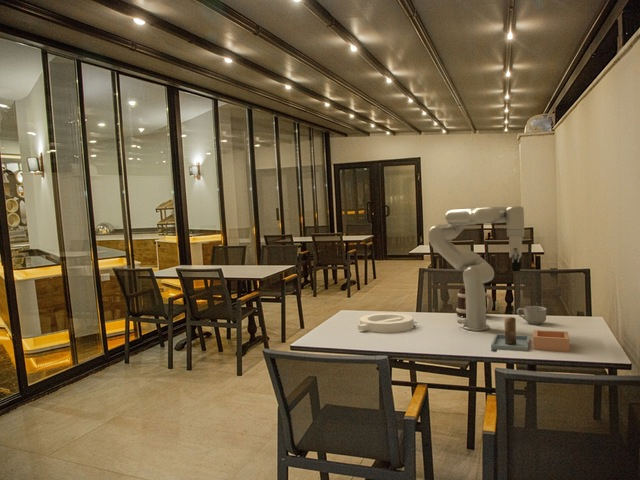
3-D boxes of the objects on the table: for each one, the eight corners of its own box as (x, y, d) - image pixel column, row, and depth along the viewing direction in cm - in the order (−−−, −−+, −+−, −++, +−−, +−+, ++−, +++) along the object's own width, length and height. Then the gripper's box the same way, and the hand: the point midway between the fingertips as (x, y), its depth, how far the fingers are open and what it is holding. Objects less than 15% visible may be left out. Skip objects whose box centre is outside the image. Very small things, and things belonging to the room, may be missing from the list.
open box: (533, 351, 198) (533, 336, 198) (534, 343, 210) (533, 330, 210) (569, 353, 193) (569, 338, 193) (568, 345, 205) (567, 331, 204)
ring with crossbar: (413, 321, 269) (412, 312, 268) (413, 333, 241) (413, 323, 241) (362, 321, 274) (362, 313, 273) (357, 333, 246) (356, 323, 246)
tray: (491, 350, 202) (491, 344, 202) (495, 339, 220) (495, 334, 220) (527, 353, 196) (527, 347, 196) (529, 341, 214) (529, 335, 214)
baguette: (504, 344, 207) (503, 319, 206) (505, 341, 211) (505, 316, 210) (515, 345, 205) (515, 319, 204) (516, 342, 209) (516, 317, 208)
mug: (455, 318, 271) (454, 291, 271) (457, 312, 285) (456, 287, 285) (493, 319, 264) (492, 291, 264) (493, 313, 279) (492, 287, 278)
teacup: (548, 322, 251) (547, 306, 251) (545, 326, 242) (544, 310, 242) (519, 320, 259) (519, 305, 258) (515, 324, 250) (515, 308, 249)
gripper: (508, 232, 234) (509, 268, 235) (505, 234, 218) (506, 272, 219) (525, 232, 231) (526, 268, 231) (523, 233, 215) (524, 272, 216)
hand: (516, 270), depth 225 cm, fingers open, 9 cm apart
